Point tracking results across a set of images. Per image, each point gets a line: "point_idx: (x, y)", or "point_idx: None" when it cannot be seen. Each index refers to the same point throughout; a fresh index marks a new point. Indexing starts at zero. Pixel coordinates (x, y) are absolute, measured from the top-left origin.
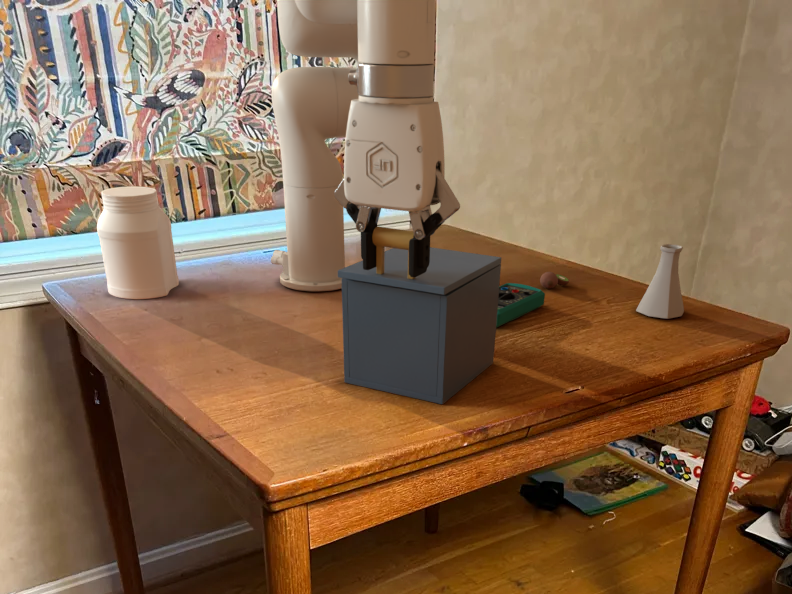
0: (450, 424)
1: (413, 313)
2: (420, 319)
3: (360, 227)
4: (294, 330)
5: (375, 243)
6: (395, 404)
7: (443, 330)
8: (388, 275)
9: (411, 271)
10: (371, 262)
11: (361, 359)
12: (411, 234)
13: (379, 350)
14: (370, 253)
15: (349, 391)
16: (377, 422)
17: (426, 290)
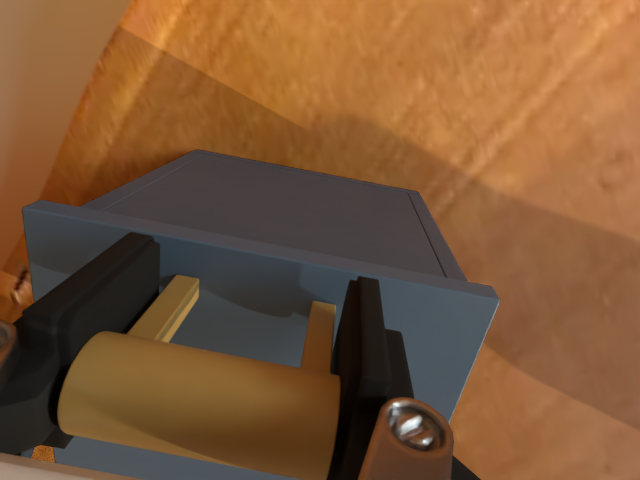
0: (146, 60)
1: (207, 218)
2: (188, 208)
3: (416, 424)
4: (593, 408)
5: (326, 373)
6: (283, 120)
7: (123, 188)
8: (282, 295)
9: (134, 239)
10: (346, 308)
11: (380, 200)
12: (80, 390)
13: (332, 200)
14: (347, 325)
15: (394, 153)
16: (285, 13)
17: (107, 213)
